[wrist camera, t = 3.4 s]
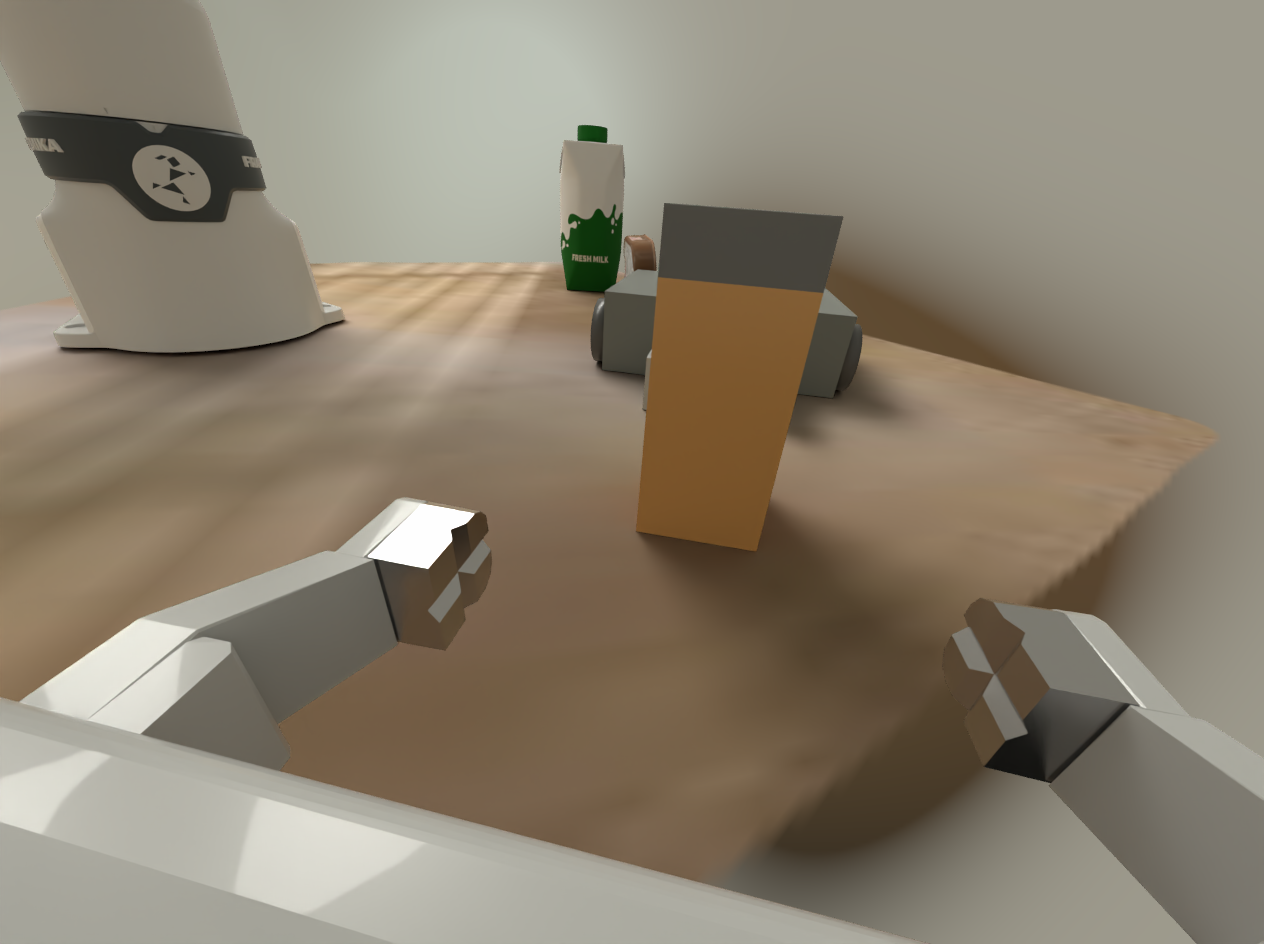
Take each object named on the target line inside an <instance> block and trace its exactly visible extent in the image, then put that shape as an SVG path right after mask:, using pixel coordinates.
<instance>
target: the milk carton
mask: <svg viewBox="0 0 1264 944" xmlns="http://www.w3.org/2000/svg"><path fill="white" fill-rule="evenodd" d="M561 165H562V169H561ZM560 173H561V180H560V215H561V216H560V218H561V219H560V220H561V252H562V259H563V266H564V272H565V279H566V286H567V290H583V291H602V292H605V291H606V290H607V289H609V288H610V287H612V286H613V285H615V284H616V278H617V273H618V267H619V261H620V254H621V241H622V219H623V200H624V178H625V167H624V155H623V145H616V144H607V128H605V127H600V126H591V125H579V126H578V141H570V140H564V142H563V147H562V153H561V160H560Z"/></svg>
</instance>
